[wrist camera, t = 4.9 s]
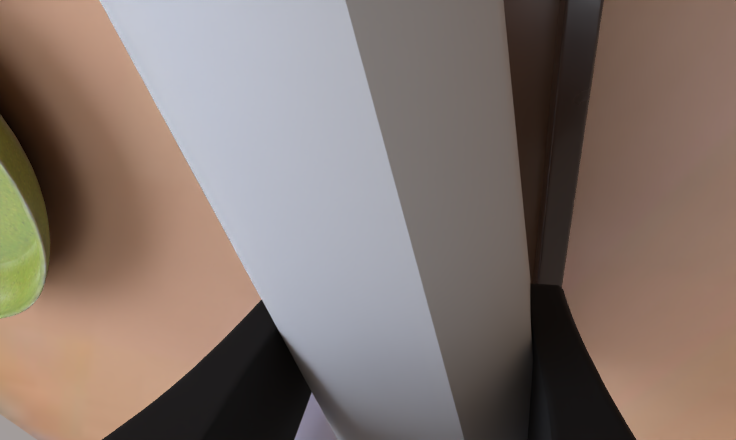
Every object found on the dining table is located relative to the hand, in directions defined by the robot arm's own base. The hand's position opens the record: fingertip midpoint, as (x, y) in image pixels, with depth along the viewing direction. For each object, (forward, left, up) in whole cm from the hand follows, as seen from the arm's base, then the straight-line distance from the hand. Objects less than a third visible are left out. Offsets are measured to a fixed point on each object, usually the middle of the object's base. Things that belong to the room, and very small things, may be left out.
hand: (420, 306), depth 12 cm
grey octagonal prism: (0, 0, -2) cm, 2 cm away
